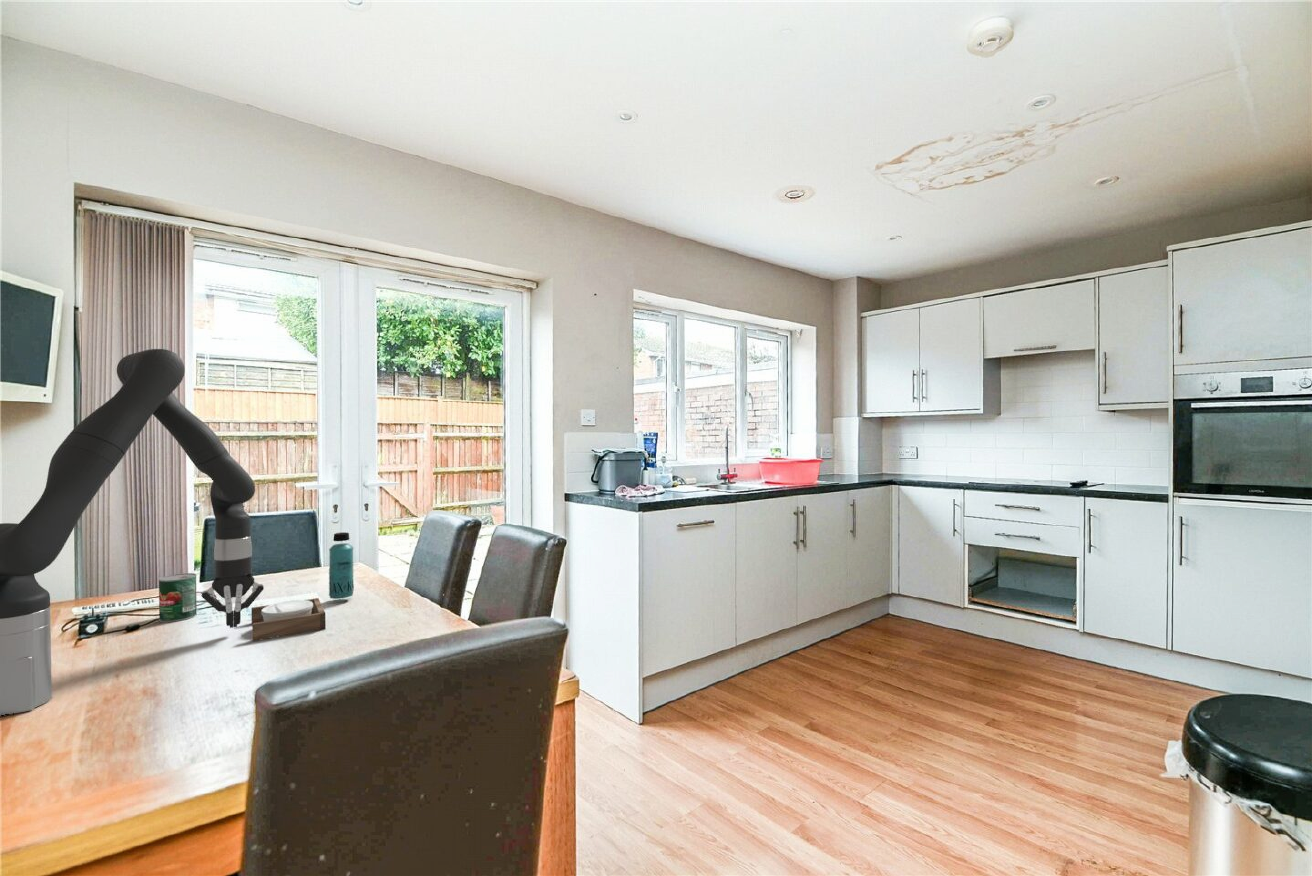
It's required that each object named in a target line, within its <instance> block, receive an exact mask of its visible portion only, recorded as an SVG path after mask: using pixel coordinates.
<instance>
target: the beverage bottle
mask: <svg viewBox="0 0 1312 876" xmlns="http://www.w3.org/2000/svg"><path fill="white" fill-rule="evenodd" d="M333 541H334V542H343V543H335V544H333V545H332V546H331V547H330V548H329V549H328V550H329V564H328V565H329V568H328V597H329V598H330V599H333V600H336V599H337V600H338V599H346V598H350V597H352V596H353V595H354V588H355V584H354V577H355V575H354V565H355V564H354V546H353V545H352V544H350V543H346V542H345V541H350V533H349V532H336V533H334V534H333ZM344 542H345V543H344Z"/></svg>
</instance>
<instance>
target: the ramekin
mask: <svg viewBox="0 0 1312 876" xmlns="http://www.w3.org/2000/svg"><path fill="white" fill-rule="evenodd" d="M307 600H308V599H303V600H301V599H297V600H287V601H280V602H277V603H273V604H268V605H269V606H267V607H265V608H263V609H262V610H261V614H262V616H263V619H264V621H271V620H277V619H283V618H290V617H296V616H303V615H309V614H311V612H312V608H313V603H312V602H311V601H307Z"/></svg>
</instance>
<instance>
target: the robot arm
mask: <svg viewBox="0 0 1312 876" xmlns="http://www.w3.org/2000/svg"><path fill="white" fill-rule="evenodd" d="M185 371H186V369H185V363H184V362H183V359H182V358H181V357H180V355H178V354H177V353H176V352H174V351H172V350H169V349H164V348H151V349H146V350H141V351H138V352H133V353H131V354H128V355H125V356H124V357H122V358H121V359H120V360H119V362H118V364H117V366H116V374H117V378H118V379H119V381H120V383H121V384H122V386H121V387H120V388H119V390H118V391H117V392H116V393H115V394H114V395H113V396H112V397H111V398H110V399H109V400H107V401H106V402H104V403H103V404H102V405H101V406H99V407H98V408H97V409H95V410H94V411H93V412H91V413H90V414H89V415H87V417H85V418H84V419H83V420H81V422H80V423H78V424H77V425H76V426H75V427H74V428H73V429H72V430H71V431H70V433H69V434H68V435H67V436H66V438H65V439H64V440H63V441H62V442H61V444H60V445H59V446H58V447H57V449H56V450H55V452H54V454H53V455H52V456H51V457H52V458H51V460H50V462H49V466H48V471H47V478H46V483H45V488H44V490H43V492H42V494H41V495H40V497H39V499H38V501H37V502H36V503H35V504H34V506H33V507H32V508H31V509H30V511H29V512H28V513H27V514H26V515H25V517H24V518H23V519H22V520H20V522H19V523H14V522H13V523H10V522H9V523H7V522H4V523H0V717H2V716H1V715H4V716H6V715H5V714H9V715H13V713H14V714H18V713H24V712H29V711H33V710H34V709H35V708H37V707H39V706H41V705H43V704H45V703H47V702H49V701H51V699H52V697H53V689H52V687H53V684H52V683H53V681H52V680H53V676H52V641H51V640H52V637H51V636H52V634H51V631H52V630H51V619H52V618H51V617H52V616H51V593H50V592H49V591H48V590H47V589H45V588H44V587H42V586H41V585H40V583H39V582H38V581H37V578H36V576H35V575H36V574H38V573H40V572H42V571H44V570H45V569H47V568H48V567H49V566H50V565H51V564H53V563H54V561H55V560H56V559H57V557H58V556H59V554H61V552H62V550H63V549H64V548H65V547H64V546H65V545H66V544H67V543H66V542H68V539H69V538H70V535H71V534H72V532H73V530H74V528H75V526H76V525H77V523H78V521H79V520H80V518H81V516H82V515H83V513H84V511H85V510H86V509H87V507H88V506H89V505H90V503H91V502H92V501H93V499H94V497H95V496H96V494H97V493H98V491H100V489H101V487H102V486H103V484H104V483H105V482H106V480H107V479H108V478H109V477H110V475H111V474H112V473H113V472H114V470H115V468H116V467H117V466H119V463H120V462H121V461H122V459H123V458H124V457H125V455H126V453H127V452H128V451H129V448H130V447H131V446H132V444H133V443H134V441H136V439H137V437H138V436H139V435H140V433H141V432H142V430H143V429H144V427H145V426H146V424H147V423H148V421H149V420H150V418H151V417H152V415H153V416H154V417H155V418H156V419H157V420H158V422H160V424H161V425H162V426H163V427H164V428H165V429H166V430H167V431H168V433H169V434H170V435H171V437H173V438H174V439H175V441H177V443H178V445H180V446H181V448H182V449H183V451H184V453H185V454H186V455H187V456H188V457H187V458H189V459H190V461H191V462H192V463H193V465H194V467H196V469H197V470H198V471H199V472H201V473H202V474H204V475H206V476H208V477H209V479H211V480H212V483H211V485H210V490H209V494H210V495H209V498H210V503H211V508H212V511H213V515H214V519H215V535H214V536H215V541H214V548H213V557H214V558H213V563H214V564H213V565H214V567H213V570H214V571H213V574H214V575H213V576H214V578H213V581H212V583H211V587H209V588H208V589H206V590H203V591H202V592H201V598H202V599H204V600H205V601H206V602H207V603H208V604H209V605H210V606H211V607H213V608H214V609H215V610H216V611H217V612H218V613H219V612H220V613H221V612H223V613H225V622H226V623H225V624H226V626H227V627H229V629H233V628H237V627H238V625H240V624H241V622H242V621H241V611H243V610H244V609H248V608H249V607H250V606H251V605H252V604H253V602H254V601H255V600H256V599H257V598H258V597H259V595H260V594H261V593H262V592H263V591H264V588H265V587H264V584H262V583H261V584H260V583H258V582H256V581H255V577H254V576H253V544H252V538H251V534H252V533H251V532H252V531H251V528H252V527H251V526H252V525H251V524H252V523H251V517H250V515H249V514H248V513H247V512H246V511H245V508H244V507H245V506H244V503H246V502H248V501H250V500H252V498H253V497H254V496H255V492H256V486H255V482H254V480H253V479H252V477H251V476H250V474H249V473H248V472H247V471H246V470H245V468H243V467H242V466H241V464H239V462H237V460H236V459H234V458H233V457H232V456H231V455H230V453H229V451H228V449H227V448H226V447H225V446H224V444H223V443H222V441H221V439H220V438H219V437H218V436H217V434H216V433H215V431H214V430H212V428H211V427H209V426H208V425H207V424H206V423H205V422H204V421H202V420H201V419H200V418H199V417H197V416H196V415H195V414H194V413H192V412H191V411H190V410H188V408H187V407H186V406H185V405H183V404H182V402H180V400H179V399H178V398H177V396H176V395H175V393H174V391H175V390H176V389H177V388H178V387H179V386H180V384H181V383H182V381H183V379H184V376H185ZM249 590H251V591H252V592H251V594H249V596H248V597H247V598H246V599H245V601H243V602H242V599H243V596H245V595H246V593H247V592H248V591H249ZM214 591H215V592H216V593H217V594H218V595H219V596H220V597H221V598H223V599H224V604H225V605H224V604H222V603H221V602H220V601H219V600H218V599H217V597H215V592H214ZM233 598H235V601H234V610H233V601H232V600H233Z"/></svg>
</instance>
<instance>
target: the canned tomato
mask: <svg viewBox="0 0 1312 876" xmlns="http://www.w3.org/2000/svg"><path fill="white" fill-rule="evenodd" d="M197 608H198V607H197V574H196V573H193V572H185V573H176V574H175V573H174V574H169V575H166V576H162V577H161V576H160V577H159V578H158V609H159V610H158V616H159V619H158V621H159V622H161V623H174V622H175V621H176V622H180V621H181V620H182V621H185V619H186V620H190V619H192V618H194V616H195V615H196V616H197V615H198V614H197V610H198V609H197ZM196 616H195V617H196ZM191 617H192V618H191ZM189 618H190V619H189Z"/></svg>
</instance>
